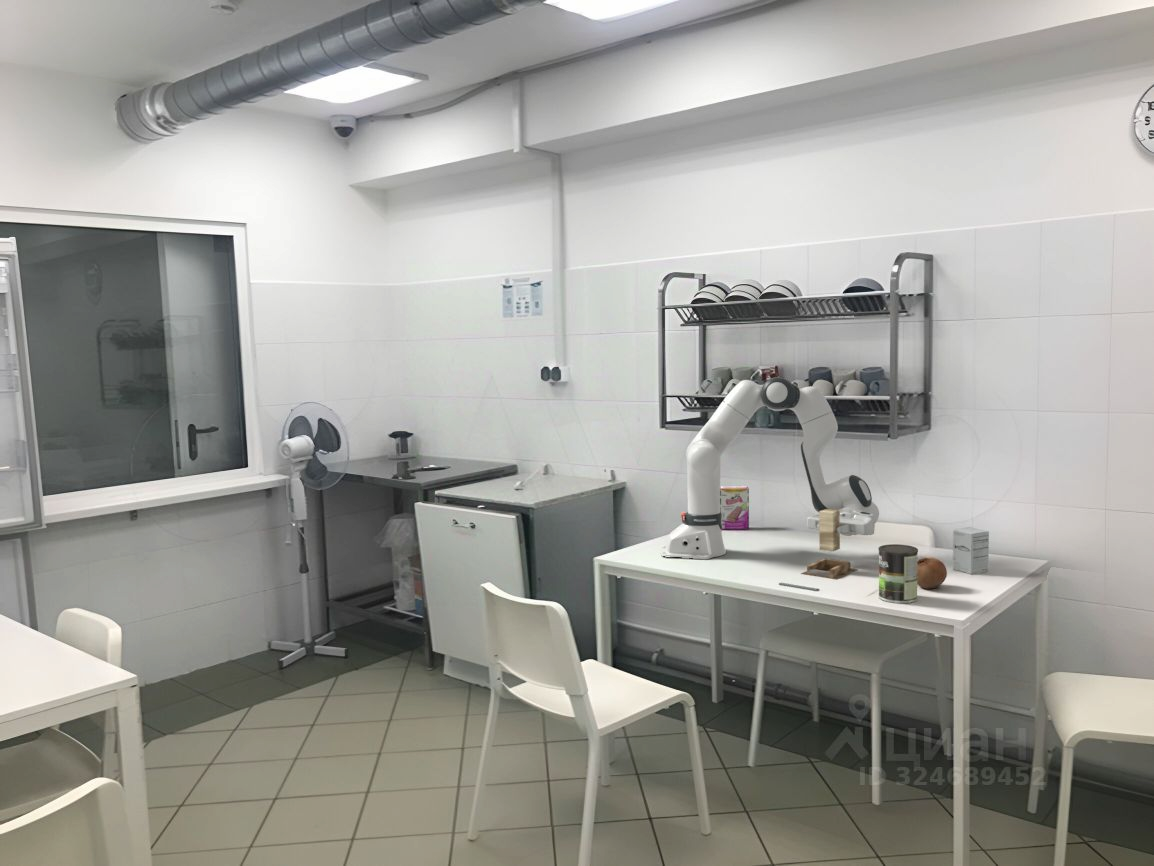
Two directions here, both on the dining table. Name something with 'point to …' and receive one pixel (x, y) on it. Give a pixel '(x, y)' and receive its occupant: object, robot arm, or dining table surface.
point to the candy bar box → (734, 507)
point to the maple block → (829, 530)
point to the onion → (930, 573)
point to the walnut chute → (829, 569)
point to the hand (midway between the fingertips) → (828, 529)
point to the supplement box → (970, 550)
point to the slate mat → (799, 586)
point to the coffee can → (898, 573)
